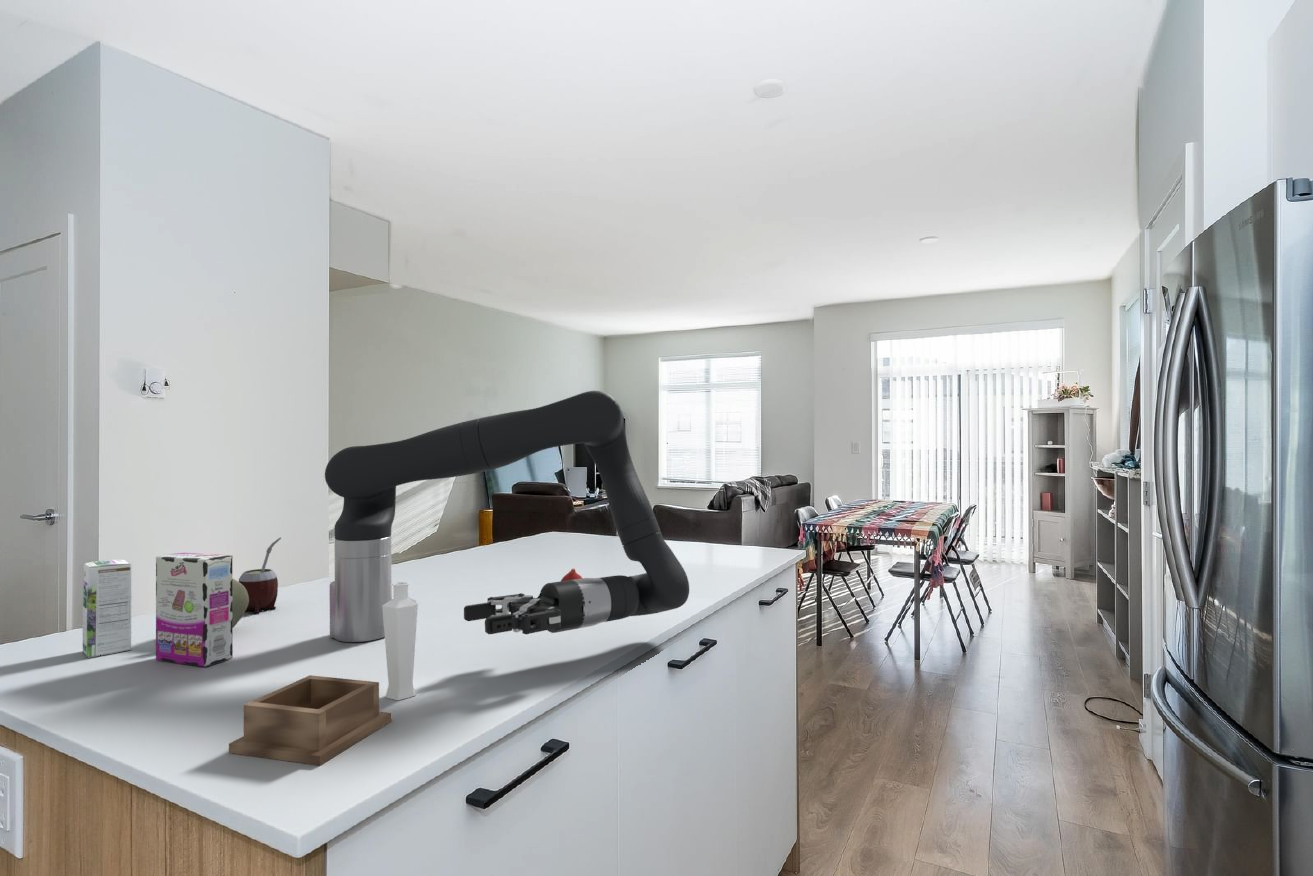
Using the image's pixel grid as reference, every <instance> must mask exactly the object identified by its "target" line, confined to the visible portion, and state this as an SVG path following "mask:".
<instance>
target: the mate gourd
mask: <svg viewBox="0 0 1313 876" xmlns="http://www.w3.org/2000/svg"><path fill="white" fill-rule="evenodd" d="M281 539H282V537H279V538H277V539H276V540H275V541H273V542H272V543H271V544H270V545H269V547H267V549H266V552H265V553H266V554H265V556H264V557H265V558H264V560H263V563H262V567H261V568H258V569H250V570H245V571H243V572H242V573H241V574H240V576H239V578H238V582H240V583H241V584H242V585H243V586H244V587H245V589H246V590H247V593H248V596H249V603H248V607H247V609H246V610H245V612H244V614H245V613H254V615H259V614H260V613H261V612H264V611H275V610H276V608H277V607H276V605H275V604H276V603H277V602H276V601H277V598H278V593H279V592H278V591H279V590H278V589H279V587H278V586H279V581H278V576H277V573H276V572H275V571H274V570H273V569H272V568H271V569H270V568H266V566H267V563H268V560H269V557H270V554H271V553H272V550H273V547H274V546H275V545H276V544H277V543H278V542H279V541H280V540H281Z"/></svg>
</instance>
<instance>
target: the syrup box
mask: <svg viewBox="0 0 1313 876" xmlns="http://www.w3.org/2000/svg"><path fill="white" fill-rule="evenodd" d="M132 569H133V564H132V562H129V561H127V560H125V559H107V560H106V559H105V560H97V561H96V560H95V561H90V562H89V561H88V562H86V563H84V564H83V587H82V588H83V593H82V594H83V595H82V597H83V599H82V652H83V653H84V654H85V655H86V657H88V658H95V657H100V655H101V656H107V655H111V654H116V653H120V652H126V651H130V650H132V608H133V607H132V601H133V600H132V599H133V598H132V597H133V595H132V594H133V589H132V588H133V585H132V584H133V574H132V573H133V570H132Z"/></svg>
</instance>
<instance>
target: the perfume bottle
mask: <svg viewBox="0 0 1313 876" xmlns="http://www.w3.org/2000/svg"><path fill="white" fill-rule="evenodd" d="M409 586H410V583H409V581H403V582H402V581H400V582H399V581H398V582H395V583H392V588H393V598H392V600H390V601H389V602H387V603H386V604H384V605H383V606H382V610H383V622H384V634H385V637H384V645H385V656H386V657H385V658H386V670H387V680H388V681H387V682H388V685H387V690H386V693H385V698H387V699H391V700H394V701H401V700H404V699H408V698H412V697H415V696H416V691H415V687H414V673H415V672H414V668H415V657H416V656H415V654H416V653H415V652H416V637H417V623H418V619H417V618H418V604H419V603H418V602H417V600H415V599H413V598H411V597H409Z"/></svg>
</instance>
